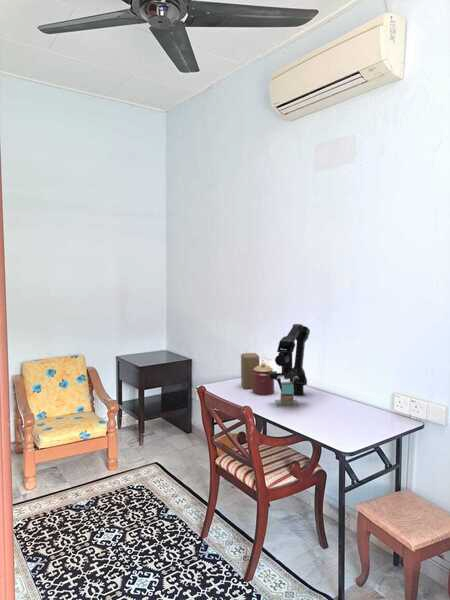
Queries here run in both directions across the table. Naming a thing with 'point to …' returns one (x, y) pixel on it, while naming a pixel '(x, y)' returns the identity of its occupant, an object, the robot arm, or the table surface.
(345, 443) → the table surface
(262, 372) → the canister
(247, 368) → the wooden block
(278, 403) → the mat
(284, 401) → the walnut block
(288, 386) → the teal block
